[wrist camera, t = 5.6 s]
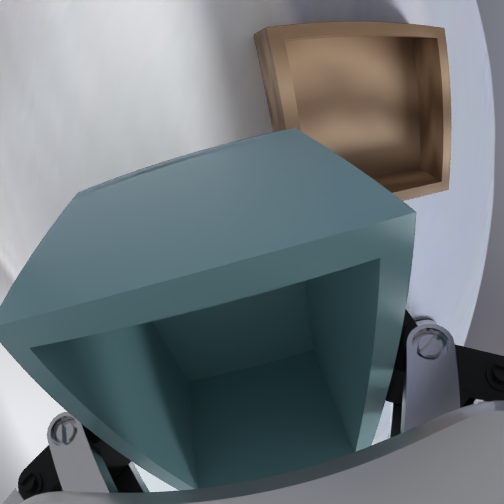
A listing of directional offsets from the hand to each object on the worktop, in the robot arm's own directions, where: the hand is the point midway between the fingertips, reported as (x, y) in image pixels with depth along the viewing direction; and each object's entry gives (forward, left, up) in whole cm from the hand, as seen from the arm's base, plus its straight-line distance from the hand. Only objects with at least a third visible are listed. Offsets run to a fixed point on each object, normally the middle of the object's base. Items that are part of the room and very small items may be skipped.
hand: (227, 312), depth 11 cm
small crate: (0, 0, -1) cm, 1 cm away
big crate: (+2, -13, -18) cm, 22 cm away
